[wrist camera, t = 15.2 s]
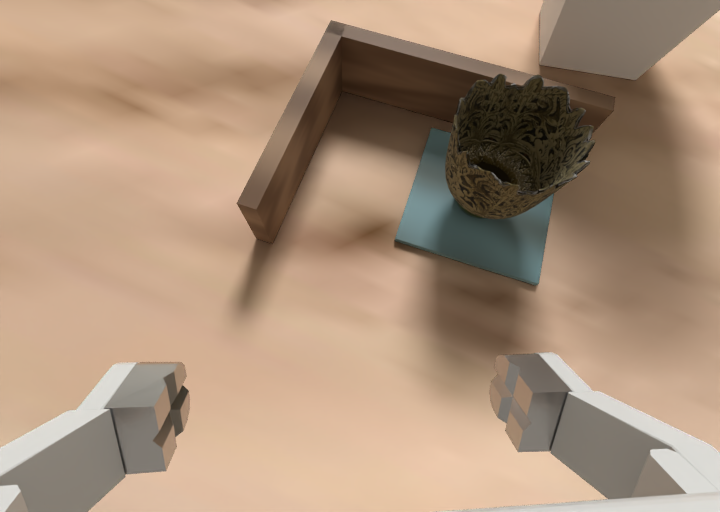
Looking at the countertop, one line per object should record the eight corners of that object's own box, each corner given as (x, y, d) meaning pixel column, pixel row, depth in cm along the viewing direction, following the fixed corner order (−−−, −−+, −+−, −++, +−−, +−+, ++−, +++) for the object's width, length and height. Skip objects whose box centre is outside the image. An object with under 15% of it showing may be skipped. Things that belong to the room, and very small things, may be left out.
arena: (543, 332, 24) (590, 316, 20) (256, 238, 26) (236, 203, 22) (573, 144, 30) (614, 97, 25) (333, 76, 32) (331, 20, 27)
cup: (424, 241, 26) (455, 178, 19) (426, 152, 29) (454, 65, 21) (531, 251, 26) (606, 192, 19) (524, 161, 29) (587, 77, 21)
